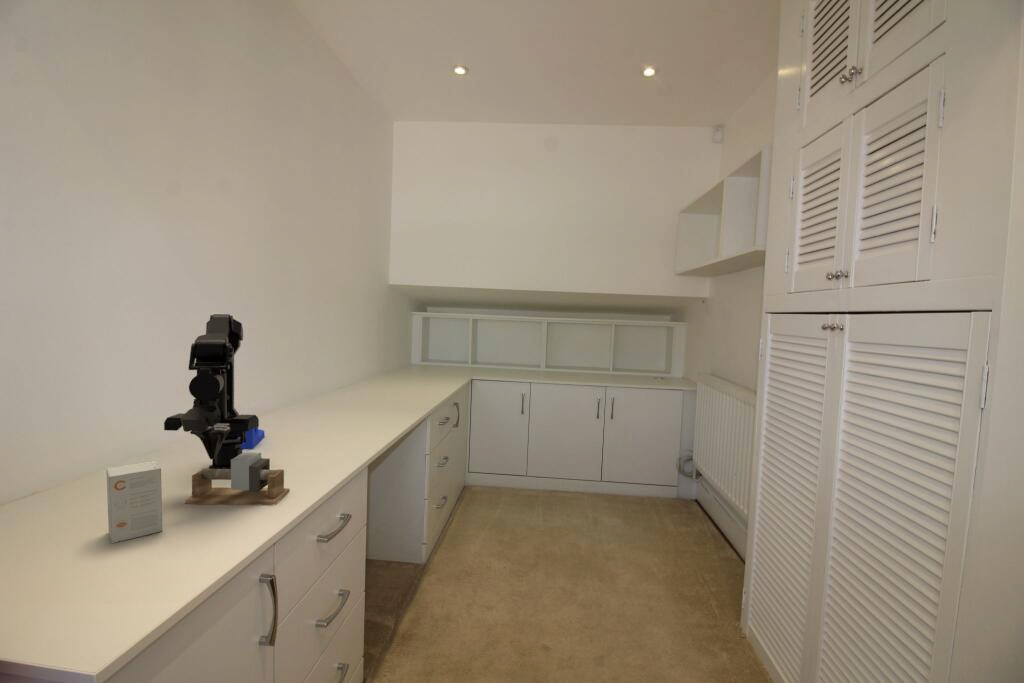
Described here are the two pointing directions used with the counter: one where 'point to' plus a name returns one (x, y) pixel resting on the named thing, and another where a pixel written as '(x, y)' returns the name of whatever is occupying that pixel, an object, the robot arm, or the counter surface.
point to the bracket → (252, 438)
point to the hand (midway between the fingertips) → (212, 458)
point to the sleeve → (242, 469)
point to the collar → (258, 475)
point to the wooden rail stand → (212, 495)
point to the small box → (134, 500)
